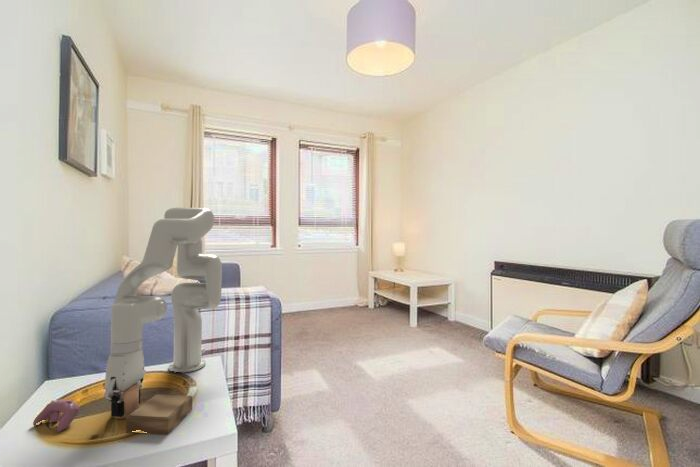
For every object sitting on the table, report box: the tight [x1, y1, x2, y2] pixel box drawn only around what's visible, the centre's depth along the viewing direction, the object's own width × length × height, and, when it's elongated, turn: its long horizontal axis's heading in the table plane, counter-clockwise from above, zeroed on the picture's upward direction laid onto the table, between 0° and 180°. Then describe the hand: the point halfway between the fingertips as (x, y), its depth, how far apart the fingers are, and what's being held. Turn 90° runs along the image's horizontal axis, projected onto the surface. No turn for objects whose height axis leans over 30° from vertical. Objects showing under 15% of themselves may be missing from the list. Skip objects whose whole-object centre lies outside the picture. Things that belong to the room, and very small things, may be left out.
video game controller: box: [32, 398, 81, 433], centre depth 91 cm, size 10×5×7 cm, turn 75°
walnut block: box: [125, 394, 193, 436], centre depth 94 cm, size 12×11×4 cm
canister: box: [112, 383, 140, 420], centre depth 97 cm, size 6×6×7 cm
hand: (126, 408), depth 97 cm, fingers closed on canister, 6 cm apart
